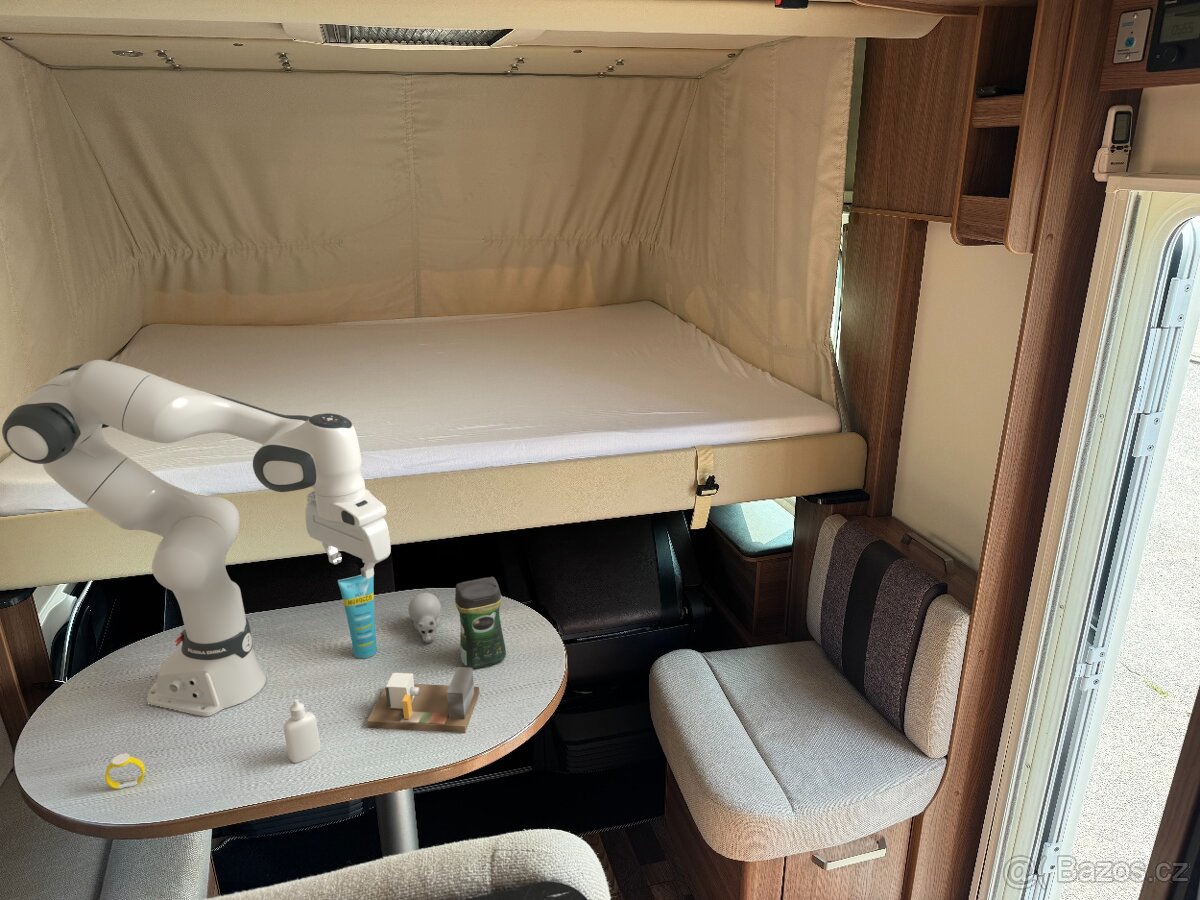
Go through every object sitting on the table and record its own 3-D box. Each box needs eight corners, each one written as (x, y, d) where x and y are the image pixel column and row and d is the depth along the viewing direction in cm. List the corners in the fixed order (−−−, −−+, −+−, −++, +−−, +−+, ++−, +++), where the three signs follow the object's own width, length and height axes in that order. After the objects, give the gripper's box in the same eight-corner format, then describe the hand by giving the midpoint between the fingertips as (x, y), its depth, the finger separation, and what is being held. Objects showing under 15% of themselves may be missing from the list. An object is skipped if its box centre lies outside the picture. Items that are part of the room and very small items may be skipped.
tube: (352, 663, 183) (341, 585, 176) (345, 652, 187) (334, 575, 180) (386, 651, 187) (376, 574, 180) (378, 641, 191) (368, 565, 184)
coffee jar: (500, 643, 189) (495, 569, 182) (509, 663, 182) (504, 587, 176) (457, 652, 186) (450, 577, 179) (464, 673, 179) (458, 596, 172)
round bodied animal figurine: (412, 654, 190) (408, 632, 184) (409, 610, 199) (406, 588, 193) (445, 649, 192) (442, 627, 186) (441, 606, 200) (438, 584, 194)
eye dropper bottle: (290, 749, 158) (280, 695, 154) (321, 743, 160) (313, 690, 155) (288, 765, 154) (277, 710, 150) (320, 759, 156) (311, 705, 151)
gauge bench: (367, 727, 164) (363, 695, 161) (388, 688, 175) (384, 657, 172) (465, 732, 162) (462, 700, 159) (479, 693, 173) (477, 661, 170)
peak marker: (404, 718, 163) (402, 701, 161) (407, 711, 165) (405, 694, 163) (409, 718, 163) (407, 701, 161) (412, 712, 165) (410, 694, 163)
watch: (109, 796, 148) (99, 769, 146) (112, 785, 151) (101, 758, 149) (147, 785, 150) (137, 759, 148) (149, 774, 152) (139, 748, 150)
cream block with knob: (382, 719, 163) (379, 697, 161) (395, 693, 170) (392, 672, 168) (410, 720, 162) (408, 699, 161) (422, 694, 170) (420, 673, 168)
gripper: (292, 494, 158) (303, 560, 163) (363, 521, 146) (373, 592, 151) (320, 483, 162) (330, 548, 167) (392, 508, 151) (400, 577, 156)
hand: (351, 569), depth 159 cm, fingers open, 8 cm apart
